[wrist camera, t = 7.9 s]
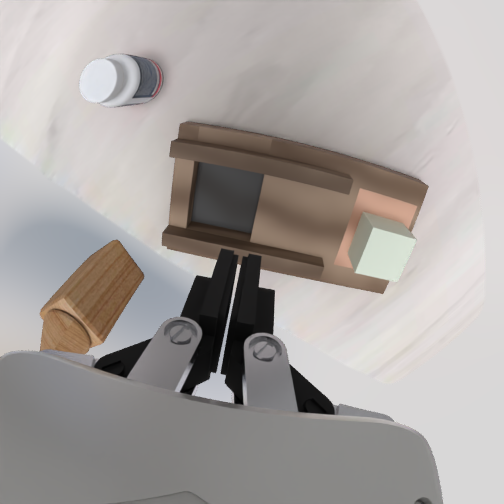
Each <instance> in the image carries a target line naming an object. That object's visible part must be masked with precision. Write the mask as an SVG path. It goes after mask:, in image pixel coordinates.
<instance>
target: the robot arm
mask: <svg viewBox="0 0 504 504" xmlns="http://www.w3.org/2000/svg"><path fill="white" fill-rule="evenodd" d="M238 257H239V255H235V254H234V251H233V250H228V249H223V248H221V250H220V253H219V256H218V259H217V263H216V266H215V269H214V272H213V275H212V278H208V277H203V276H198V275H197V276H196V278H195V280H194V282H193V285H192V288H191V290H190V293H189V295H188V298H187V301H186V303H185V305H184V308H183V311H182V313H181V316H180V317H174V318H170V319H168V320H166V321H165V322H164V323H163V324H162V325H161V326H160V328H159V329H158V331H157V332H156V334H155V335H154V337H153V338H151V339H149V340H146V341H143V342H141V343H138V344H135V345H133V346H130V347H127V348H124V349H122V350H119V351H116V352H113V353H110V354H108V355H105V356H103V357H102V358H100V359H95V358H94V356H93V355H85V354H78V353H71V352H64V351H57V350H51V349H45V350H42V351H40V352H38V351H23V350H21V351H13V352H9V353H6V354H4V355H3V356H1V357H0V504H443V500H442V492H441V486H440V481H439V476H438V471H437V467H436V463H435V459H434V456H433V454H432V451H431V448H430V446H429V444H428V442H427V440H426V439H425V438H424V437H423V436H422V435H421V434H420V433H419V432H417V431H416V430H414V429H412V428H410V427H408V426H405V425H402V424H399V423H396V422H394V420H393V419H392V418H390V417H389V416H387V415H384V414H380V413H376V412H371V411H367V410H363V409H359V408H354V407H351V406H347V405H343V404H339V405H338V406H336V405H333V404H332V403H331V401H329V399H328V398H327V397H326V396H325V395H323V394H322V393H321V392H320V391H319V390H318V389H317V388H316V387H314V386H313V385H312V384H311V383H310V382H309V381H308V380H307V379H305V378H304V377H303V376H302V375H301V374H300V373H299V372H298V371H297V370H296V369H295V368H293V367H292V366H291V365H290V364H289V360H288V355H287V349H286V347H285V344H284V343H283V342H282V341H281V340H280V339H279V338H278V337H276V336H274V335H273V326H274V301H275V291H274V290H271V289H265V288H260V287H259V277H260V268H261V258H262V256H259V255H254V254H249V255H248V257H246V256H243V258H242V263H241V268H240V273H239V278H238V283H237V288H236V293H235V298H234V302H233V308H232V313H231V318H230V323H229V328H228V334H227V340H226V345H225V351H224V357H223V363H222V369H221V374H224V375H226V379H225V384H226V385H227V386H228V387H229V388H230V389H231V390H232V403H228V402H222V401H217V400H212V399H207V398H202V397H197V396H195V393H196V391H197V388H198V384H200V383H202V382H204V381H206V380H208V379H209V378H210V373H211V372H213V373H216V371H217V366H218V361H219V357H220V352H221V347H222V342H223V337H224V333H225V328H226V323H227V318H228V313H229V308H230V303H231V297H232V292H233V286H234V280H235V274H236V268H237V263H238Z"/></svg>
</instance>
